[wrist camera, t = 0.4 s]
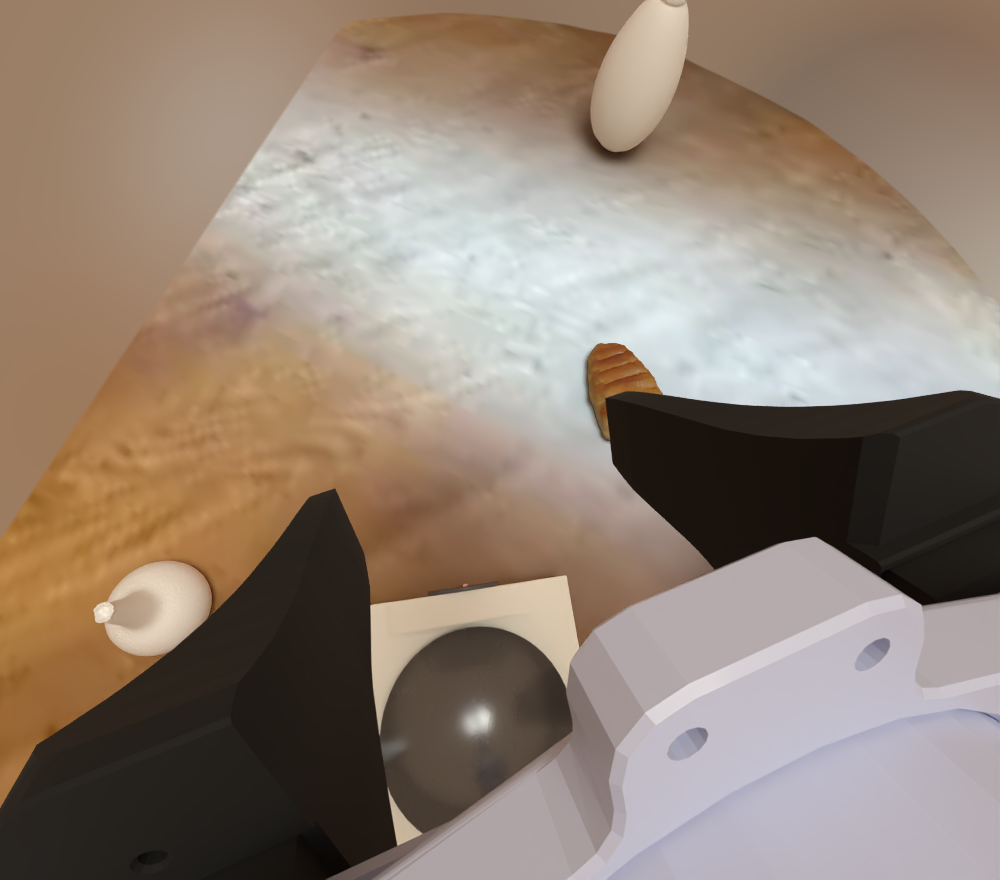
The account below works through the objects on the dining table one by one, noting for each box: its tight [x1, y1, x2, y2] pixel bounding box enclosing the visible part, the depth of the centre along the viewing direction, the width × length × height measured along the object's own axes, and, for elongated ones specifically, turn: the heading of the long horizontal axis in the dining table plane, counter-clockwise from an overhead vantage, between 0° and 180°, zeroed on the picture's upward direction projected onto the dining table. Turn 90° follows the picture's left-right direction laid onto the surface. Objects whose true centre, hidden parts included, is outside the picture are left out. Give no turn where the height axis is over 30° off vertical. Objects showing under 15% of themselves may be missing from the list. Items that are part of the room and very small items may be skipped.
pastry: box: [588, 343, 663, 440], centre depth 44 cm, size 9×7×4 cm
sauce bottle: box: [591, 0, 689, 152], centre depth 47 cm, size 8×8×18 cm
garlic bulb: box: [93, 561, 212, 656], centre depth 32 cm, size 6×6×8 cm
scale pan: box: [380, 626, 573, 834], centre depth 32 cm, size 13×13×1 cm
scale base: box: [370, 575, 579, 846], centre depth 33 cm, size 18×16×6 cm
